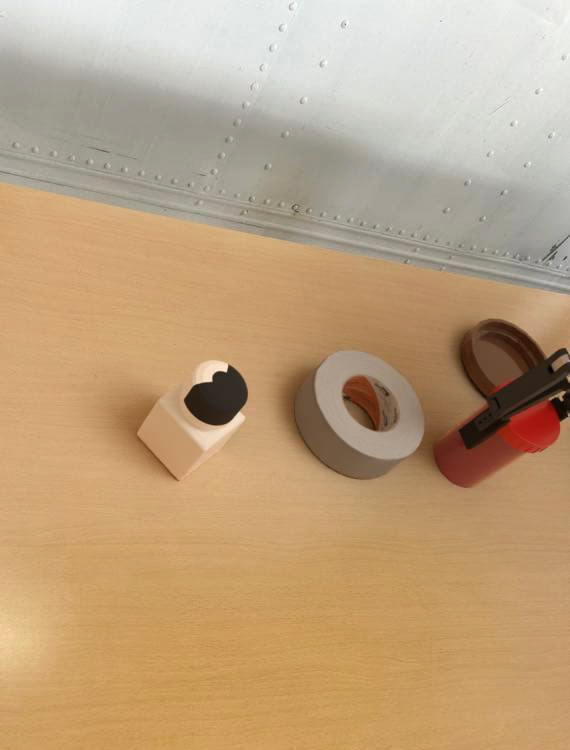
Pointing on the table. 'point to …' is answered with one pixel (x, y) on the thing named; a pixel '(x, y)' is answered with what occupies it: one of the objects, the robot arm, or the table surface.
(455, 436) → the jam jar
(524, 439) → the lid
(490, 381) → the dish
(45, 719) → the table surface
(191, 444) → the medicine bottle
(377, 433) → the tape roll
